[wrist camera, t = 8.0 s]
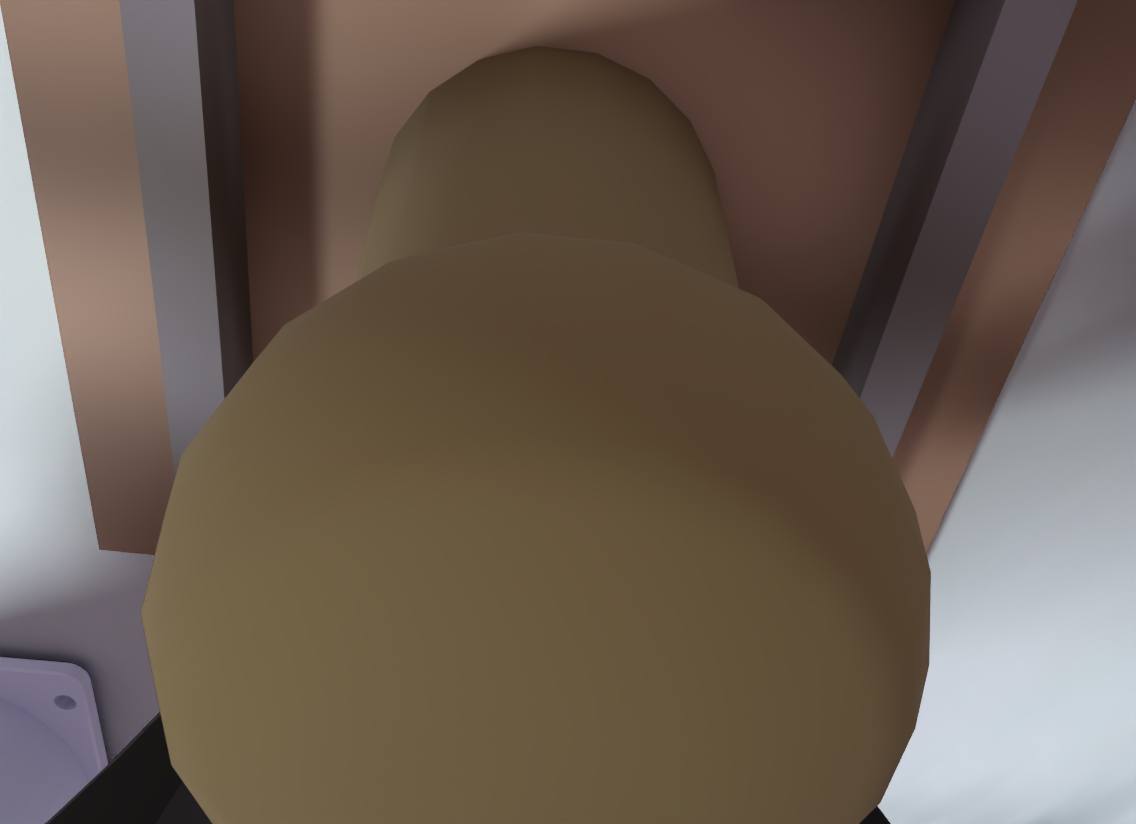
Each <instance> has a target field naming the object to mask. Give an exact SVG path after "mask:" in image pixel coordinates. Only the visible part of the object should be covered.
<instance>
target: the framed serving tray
mask: <svg viewBox="0 0 1136 824" xmlns="http://www.w3.org/2000/svg"><path fill="white" fill-rule="evenodd" d="M0 5H1V11H2V16H3V22H4V27H5V33H6V38H7V44H8V49H9V55H10V60H11V66H12V71H13V77H14V82H15V88H16V93H17V99H18V104H19V110H20V115H21V121H22V126H23V132H24V137H25V143H26V148H27V154H28V159H29V165H30V170H31V176H32V181H33V187H34V192H35V198H36V203H37V209H38V214H39V220H40V225H41V231H42V236H43V242H44V247H45V253H46V258H47V264H48V269H49V275H50V280H51V286H52V291H53V297H54V302H55V308H56V313H57V319H58V324H59V330H60V335H61V341H62V346H63V352H64V357H65V363H66V368H67V374H68V379H69V385H70V390H71V396H72V401H73V407H74V412H75V418H76V423H77V429H78V434H79V440H80V445H81V451H82V456H83V462H84V467H85V473H86V478H87V484H88V489H89V495H90V500H91V506H92V511H93V517H94V522H95V528H96V533H97V539H98V544H99V549H100V550H110V551H120V552H130V553H140V554H151V555H155V553H156V549H157V545H158V540H159V536H160V532H161V528H162V524H163V520H164V516H165V513H166V509H167V505H168V502H169V498H170V495H171V491H172V487H173V484H174V480H175V477H176V473H177V470H178V466H179V462H180V459H181V455H182V453H183V452H184V450H185V449H186V448H187V447H188V445H189V444H190V443H191V441H192V440H193V439H194V438H195V436H196V435H197V434H198V432H199V431H200V430H201V429H202V427H203V426H204V425H205V423H206V422H207V421H208V420H209V418H210V417H211V416H212V414H213V413H214V412H215V411H216V409H217V408H218V407H219V406H220V404H221V403H222V402H223V400H224V399H225V398H226V397H227V395H228V394H229V393H230V391H231V390H232V389H233V388H234V386H235V385H236V384H237V382H238V381H239V380H240V379H241V377H242V376H243V375H244V374H245V372H246V371H247V370H248V368H249V367H250V366H251V365H252V363H253V362H254V361H255V360H256V358H257V357H258V356H259V355H260V354H261V352H262V351H263V350H264V349H265V348H266V346H267V345H268V344H269V343H270V342H271V340H272V339H273V338H274V337H275V336H276V334H277V333H278V332H279V331H280V330H281V328H282V327H283V326H284V325H285V324H287V323H288V322H290V321H292V320H293V319H295V318H297V317H298V316H300V315H302V314H303V313H305V312H307V311H308V310H310V309H312V308H313V307H315V306H317V305H318V304H320V303H322V302H323V301H325V300H327V299H328V298H330V297H332V296H333V295H335V294H337V293H338V292H340V291H342V290H343V289H345V288H347V287H348V286H350V285H352V284H353V283H355V280H356V276H357V272H358V268H359V263H360V259H361V255H362V251H363V247H364V243H365V239H366V235H367V231H368V227H369V223H370V219H371V215H372V211H373V207H374V202H375V198H376V194H377V190H378V187H379V184H380V181H381V178H382V175H383V172H384V169H385V166H386V163H387V160H388V156H389V153H390V150H391V147H392V144H393V141H394V138H395V136H396V135H397V134H398V132H399V131H400V130H401V128H402V127H403V126H404V125H405V123H406V122H407V121H408V119H409V118H410V117H411V115H412V114H413V113H414V111H415V110H416V109H417V107H418V106H419V105H420V103H421V102H422V101H423V100H424V98H425V97H426V96H427V94H428V93H429V92H430V91H431V90H433V89H434V88H436V87H438V86H439V85H441V84H442V83H444V82H445V81H447V80H448V79H450V78H451V77H453V76H454V75H456V74H457V73H459V72H461V71H462V70H464V69H465V68H467V67H468V66H470V65H471V64H473V63H474V62H476V61H477V60H480V59H484V58H488V57H492V56H497V55H501V54H505V53H509V52H514V51H518V50H522V49H526V48H531V47H535V46H541V47H550V48H558V49H567V50H576V51H584V52H593V53H598V54H600V55H602V56H604V57H606V58H608V59H610V60H612V61H614V62H616V63H618V64H620V65H622V66H624V67H626V68H628V69H630V70H632V71H634V72H636V73H638V74H640V75H642V76H644V77H646V78H648V79H650V80H651V81H652V82H653V83H654V84H655V85H656V86H657V87H658V88H659V89H660V90H661V91H662V92H663V93H664V94H665V95H666V96H667V97H668V98H669V99H670V100H671V101H672V102H673V103H674V105H675V106H676V107H677V108H678V109H679V110H680V111H681V112H682V113H683V114H684V115H685V116H686V117H687V118H688V119H689V120H690V121H691V123H692V125H693V128H694V130H695V132H696V134H697V136H698V138H699V140H700V142H701V144H702V147H703V149H704V151H705V153H706V155H707V157H708V159H709V161H710V163H711V166H712V168H713V170H714V173H715V177H716V182H717V187H718V192H719V196H720V201H721V206H722V210H723V215H724V220H725V225H726V229H727V234H728V239H729V244H730V248H731V253H732V258H733V262H734V267H735V272H736V277H737V281H738V286H739V289H741V290H743V291H745V292H748V293H750V294H752V295H754V296H757V297H759V298H761V299H762V300H763V301H764V302H765V303H767V304H768V305H769V306H770V307H771V308H772V309H773V310H774V311H775V312H776V313H777V314H778V315H779V316H780V317H781V318H782V319H783V320H784V321H785V322H786V323H788V324H789V325H790V326H791V327H792V328H793V329H794V330H795V331H796V332H797V333H798V334H799V335H800V336H801V337H802V338H803V339H804V340H805V341H806V342H807V343H809V344H810V345H811V346H812V347H813V348H814V349H815V350H816V351H817V352H818V353H819V354H820V355H821V356H822V357H823V358H824V359H825V360H826V361H827V362H829V363H830V364H831V365H832V366H833V367H834V368H835V369H836V370H837V371H838V372H839V373H840V374H841V375H842V376H843V378H844V379H845V380H846V381H847V383H848V384H849V385H850V387H851V388H852V389H853V390H854V392H855V393H856V394H857V396H858V397H859V398H860V399H861V401H862V402H863V403H864V405H865V406H866V407H867V409H868V410H869V411H870V412H871V414H872V415H873V416H874V418H875V420H876V423H877V425H878V427H879V429H880V432H881V434H882V436H883V438H884V441H885V443H886V445H887V448H888V450H889V452H890V454H891V457H892V459H893V461H894V463H895V466H896V468H897V470H898V472H899V475H900V477H901V479H902V481H903V484H904V486H905V488H906V490H907V493H908V495H909V497H910V499H911V502H912V504H913V506H914V508H915V511H916V515H917V519H918V523H919V527H920V531H921V535H922V539H923V543H924V547H925V551H926V552H927V550H928V548H929V546H930V544H931V542H932V539H933V537H934V535H935V533H936V531H937V529H938V526H939V524H940V522H941V520H942V518H943V516H944V513H945V511H946V509H947V507H948V505H949V503H950V500H951V498H952V496H953V494H954V492H955V490H956V487H957V485H958V483H959V481H960V479H961V477H962V474H963V472H964V470H965V468H966V466H967V464H968V461H969V459H970V457H971V455H972V453H973V450H974V448H975V446H976V444H977V442H978V440H979V437H980V435H981V433H982V431H983V429H984V427H985V424H986V422H987V420H988V418H989V416H990V414H991V411H992V409H993V407H994V405H995V403H996V401H997V398H998V396H999V394H1000V392H1001V390H1002V388H1003V385H1004V383H1005V381H1006V379H1007V377H1008V375H1009V372H1010V370H1011V368H1012V366H1013V364H1014V362H1015V359H1016V357H1017V355H1018V353H1019V351H1020V349H1021V346H1022V344H1023V342H1024V340H1025V338H1026V336H1027V333H1028V331H1029V329H1030V327H1031V325H1032V323H1033V320H1034V318H1035V316H1036V314H1037V312H1038V310H1039V307H1040V305H1041V303H1042V301H1043V299H1044V296H1045V294H1046V292H1047V290H1048V288H1049V286H1050V283H1051V281H1052V279H1053V277H1054V275H1055V273H1056V270H1057V268H1058V266H1059V264H1060V262H1061V260H1062V257H1063V255H1064V253H1065V251H1066V249H1067V247H1068V244H1069V242H1070V240H1071V238H1072V236H1073V234H1074V231H1075V229H1076V227H1077V225H1078V223H1079V221H1080V218H1081V216H1082V214H1083V212H1084V210H1085V208H1086V205H1087V203H1088V201H1089V199H1090V197H1091V195H1092V192H1093V190H1094V188H1095V186H1096V184H1097V182H1098V179H1099V177H1100V175H1101V173H1102V171H1103V169H1104V166H1105V164H1106V162H1107V160H1108V158H1109V156H1110V153H1111V151H1112V149H1113V147H1114V145H1115V142H1116V140H1117V138H1118V136H1119V134H1120V132H1121V129H1122V127H1123V125H1124V123H1125V121H1126V119H1127V116H1128V114H1129V112H1130V110H1131V108H1132V106H1133V103H1134V101H1135V99H1136V0H0Z"/></svg>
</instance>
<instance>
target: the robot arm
mask: <svg viewBox="0 0 1136 824" xmlns="http://www.w3.org/2000/svg"><path fill="white" fill-rule="evenodd" d="M0 824H212V822H211V821H210V819H209V818H208V817H207V815H206V814H205V812H204V811H203V809H202V808H201V807H200V805H199V804H198V802H197V801H196V799H195V798H194V797H193V795H192V794H191V792H190V791H189V790H188V788H187V787H186V785H185V784H184V782H183V781H182V780H181V778H180V777H179V775H178V774H177V772H176V771H175V770H174V768H173V767H172V765H171V761H170V756H169V751H168V747H167V742H166V737H165V732H164V727H163V723H162V718H161V713H160V712H159V713H158V714H157V715H156V716H155V717H154V718H153V719H152V720H151V721H150V722H149V723H148V724H147V725H146V726H145V727H144V728H143V729H142V731H141V732H140V733H139V734H138V735H137V736H136V737H135V738H134V739H133V740H132V741H131V742H130V743H129V744H128V745H127V746H126V747H125V748H124V749H123V750H122V751H121V752H120V753H119V754H118V755H117V756H116V757H115V758H114V759H113V760H112V761H111V762H110V763H109V764H108V760H107V755H106V751H105V746H104V741H103V736H102V731H101V727H100V722H99V717H98V712H97V708H96V703H95V698H94V693H93V689H92V684H91V679H90V677H89V675H88V673H87V672H86V671H85V670H84V669H83V668H82V667H80V666H78V665H76V664H72V663H66V662H54V661H43V660H31V659H19V658H8V657H0ZM859 824H890V822H889V821H888V820H887V818H886V817H885V816H884V814H883V813H882V812H881V810H880V809H879V808H878V806H876V807H875V808H874V809H873V810H872V811H871V812H870V813H869V814H868V815H867V816H866V817H865V818H864V819H863V820H862V821H861V822H860V823H859Z"/></svg>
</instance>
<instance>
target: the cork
mask: <svg viewBox="0 0 1136 824" xmlns="http://www.w3.org/2000/svg"><path fill="white" fill-rule="evenodd" d="M930 582H931V572H930V568H929V564H928V560H927V556H926V551H925V547H924V543H923V539H922V535H921V531H920V527H919V523H918V519H917V515H916V511H915V508H914V506H913V504H912V502H911V499H910V497H909V495H908V493H907V490H906V488H905V486H904V484H903V481H902V479H901V477H900V475H899V472H898V470H897V468H896V466H895V463H894V461H893V459H892V457H891V454H890V452H889V450H888V448H887V445H886V443H885V441H884V438H883V436H882V434H881V432H880V429H879V427H878V425H877V423H876V420H875V418H874V416H873V415H872V414H871V412H870V411H869V410H868V409H867V407H866V406H865V405H864V403H863V402H862V401H861V399H860V398H859V397H858V396H857V394H856V393H855V392H854V390H853V389H852V388H851V387H850V385H849V384H848V383H847V381H846V380H845V379H844V378H843V376H842V375H841V374H840V373H839V372H838V371H837V370H836V369H835V368H834V367H833V366H832V365H831V364H830V363H829V362H827V361H826V360H825V359H824V358H823V357H822V356H821V355H820V354H819V353H818V352H817V351H816V350H815V349H814V348H813V347H812V346H811V345H810V344H809V343H807V342H806V341H805V340H804V339H803V338H802V337H801V336H800V335H799V334H798V333H797V332H796V331H795V330H794V329H793V328H792V327H791V326H790V325H789V324H788V323H786V322H785V321H784V320H783V319H782V318H781V317H780V316H779V315H778V314H777V313H776V312H775V311H774V310H773V309H772V308H771V307H770V306H769V305H768V304H767V303H765V302H764V301H763V300H762V299H761V298H759V297H757V296H754V295H752V294H750V293H748V292H745V291H743V290H741V289H739V286H738V281H737V277H736V272H735V267H734V262H733V258H732V253H731V248H730V244H729V239H728V234H727V229H726V225H725V220H724V215H723V210H722V206H721V201H720V196H719V192H718V187H717V182H716V177H715V173H714V170H713V168H712V166H711V163H710V161H709V159H708V157H707V155H706V153H705V151H704V149H703V147H702V144H701V142H700V140H699V138H698V136H697V134H696V132H695V130H694V128H693V125H692V123H691V121H690V120H689V119H688V118H687V117H686V116H685V115H684V114H683V113H682V112H681V111H680V110H679V109H678V108H677V107H676V106H675V105H674V103H673V102H672V101H671V100H670V99H669V98H668V97H667V96H666V95H665V94H664V93H663V92H662V91H661V90H660V89H659V88H658V87H657V86H656V85H655V84H654V83H653V82H652V81H651V80H650V79H648V78H646V77H644V76H642V75H640V74H638V73H636V72H634V71H632V70H630V69H628V68H626V67H624V66H622V65H620V64H618V63H616V62H614V61H612V60H610V59H608V58H606V57H604V56H602V55H600V54H598V53H593V52H584V51H576V50H567V49H558V48H550V47H541V46H535V47H531V48H526V49H522V50H518V51H514V52H509V53H505V54H501V55H497V56H492V57H488V58H484V59H480V60H477V61H476V62H474V63H473V64H471V65H470V66H468V67H467V68H465V69H464V70H462V71H461V72H459V73H457V74H456V75H454V76H453V77H451V78H450V79H448V80H447V81H445V82H444V83H442V84H441V85H439V86H438V87H436V88H434V89H433V90H431V91H430V92H429V93H428V94H427V96H426V97H425V98H424V100H423V101H422V102H421V103H420V105H419V106H418V107H417V109H416V110H415V111H414V113H413V114H412V115H411V117H410V118H409V119H408V121H407V122H406V123H405V125H404V126H403V127H402V128H401V130H400V131H399V132H398V134H397V135H396V136H395V138H394V141H393V144H392V147H391V150H390V153H389V156H388V160H387V163H386V166H385V169H384V172H383V175H382V178H381V181H380V184H379V187H378V190H377V194H376V198H375V202H374V207H373V211H372V215H371V219H370V223H369V227H368V231H367V235H366V239H365V243H364V247H363V251H362V255H361V259H360V263H359V268H358V272H357V276H356V280H355V283H353V284H352V285H350V286H348V287H347V288H345V289H343V290H342V291H340V292H338V293H337V294H335V295H333V296H332V297H330V298H328V299H327V300H325V301H323V302H322V303H320V304H318V305H317V306H315V307H313V308H312V309H310V310H308V311H307V312H305V313H303V314H302V315H300V316H298V317H297V318H295V319H293V320H292V321H290V322H288V323H287V324H285V325H284V326H283V327H282V328H281V330H280V331H279V332H278V333H277V334H276V336H275V337H274V338H273V339H272V340H271V342H270V343H269V344H268V345H267V346H266V348H265V349H264V350H263V351H262V352H261V354H260V355H259V356H258V357H257V358H256V360H255V361H254V362H253V363H252V365H251V366H250V367H249V368H248V370H247V371H246V372H245V374H244V375H243V376H242V377H241V379H240V380H239V381H238V382H237V384H236V385H235V386H234V388H233V389H232V390H231V391H230V393H229V394H228V395H227V397H226V398H225V399H224V400H223V402H222V403H221V404H220V406H219V407H218V408H217V409H216V411H215V412H214V413H213V414H212V416H211V417H210V418H209V420H208V421H207V422H206V423H205V425H204V426H203V427H202V429H201V430H200V431H199V432H198V434H197V435H196V436H195V438H194V439H193V440H192V441H191V443H190V444H189V445H188V447H187V448H186V449H185V450H184V452H183V453H182V455H181V459H180V462H179V466H178V470H177V473H176V477H175V480H174V484H173V487H172V491H171V495H170V498H169V502H168V505H167V509H166V513H165V516H164V520H163V524H162V528H161V532H160V536H159V540H158V545H157V549H156V553H155V557H154V561H153V565H152V569H151V573H150V577H149V581H148V585H147V589H146V593H145V597H144V602H143V606H142V610H141V618H142V623H143V628H144V633H145V638H146V643H147V649H148V654H149V659H150V664H151V669H152V674H153V680H154V685H155V689H156V694H157V699H158V704H159V708H160V713H161V718H162V723H163V727H164V732H165V737H166V742H167V747H168V751H169V756H170V761H171V765H172V767H173V768H174V770H175V771H176V772H177V774H178V775H179V777H180V778H181V780H182V781H183V782H184V784H185V785H186V787H187V788H188V790H189V791H190V792H191V794H192V795H193V797H194V798H195V799H196V801H197V802H198V804H199V805H200V807H201V808H202V809H203V811H204V812H205V814H206V815H207V817H208V818H209V819H210V821H211V822H212V824H859V823H860V822H861V821H862V820H863V819H864V818H865V817H866V816H867V815H868V814H869V813H870V812H871V811H872V810H873V809H874V808H875V807H876V806H877V805H878V804H879V803H880V802H881V800H882V798H883V796H884V794H885V791H886V789H887V787H888V785H889V783H890V781H891V779H892V776H893V774H894V772H895V770H896V768H897V766H898V764H899V762H900V759H901V757H902V755H903V753H904V751H905V749H906V747H907V744H908V742H909V740H910V738H911V736H912V734H913V732H914V729H915V726H916V722H917V717H918V713H919V708H920V703H921V699H922V694H923V690H924V685H925V681H926V676H927V672H928V667H929V641H930Z"/></svg>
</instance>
